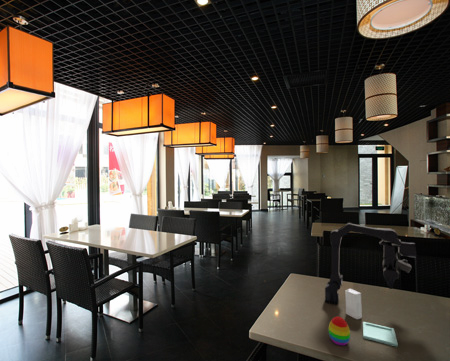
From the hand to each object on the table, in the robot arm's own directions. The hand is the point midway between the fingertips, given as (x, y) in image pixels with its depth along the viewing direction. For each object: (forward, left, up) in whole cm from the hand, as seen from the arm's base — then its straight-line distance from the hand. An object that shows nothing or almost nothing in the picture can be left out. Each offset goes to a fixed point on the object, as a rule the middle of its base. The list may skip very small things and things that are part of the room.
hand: (390, 285), depth 125 cm
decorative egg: (-21, -36, -15) cm, 44 cm away
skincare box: (-16, -11, -15) cm, 24 cm away
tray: (-6, -23, -14) cm, 27 cm away
